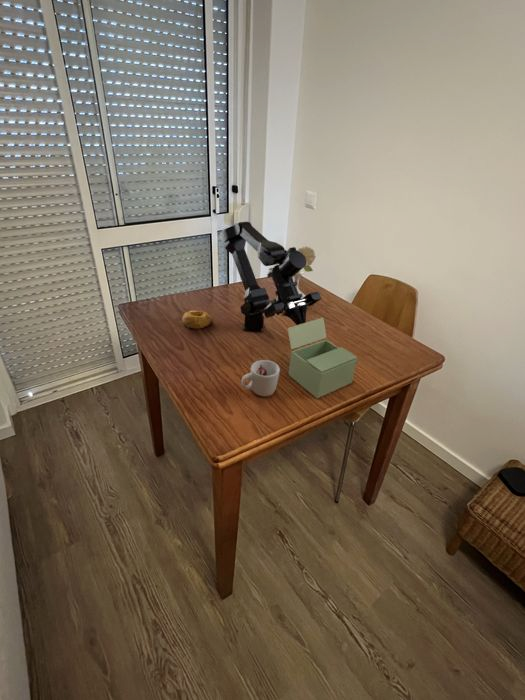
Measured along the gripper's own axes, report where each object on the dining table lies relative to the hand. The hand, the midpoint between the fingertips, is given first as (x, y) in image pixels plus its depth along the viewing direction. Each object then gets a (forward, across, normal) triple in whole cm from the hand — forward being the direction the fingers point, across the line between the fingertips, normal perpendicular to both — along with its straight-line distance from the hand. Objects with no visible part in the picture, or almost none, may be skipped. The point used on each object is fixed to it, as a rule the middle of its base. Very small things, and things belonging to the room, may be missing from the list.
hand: (303, 330), depth 106 cm
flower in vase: (-17, -28, -35) cm, 48 cm away
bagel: (-20, +17, -37) cm, 45 cm away
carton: (+15, 0, -2) cm, 16 cm away
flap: (+1, 0, +1) cm, 2 cm away
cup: (+12, +19, -5) cm, 23 cm away
